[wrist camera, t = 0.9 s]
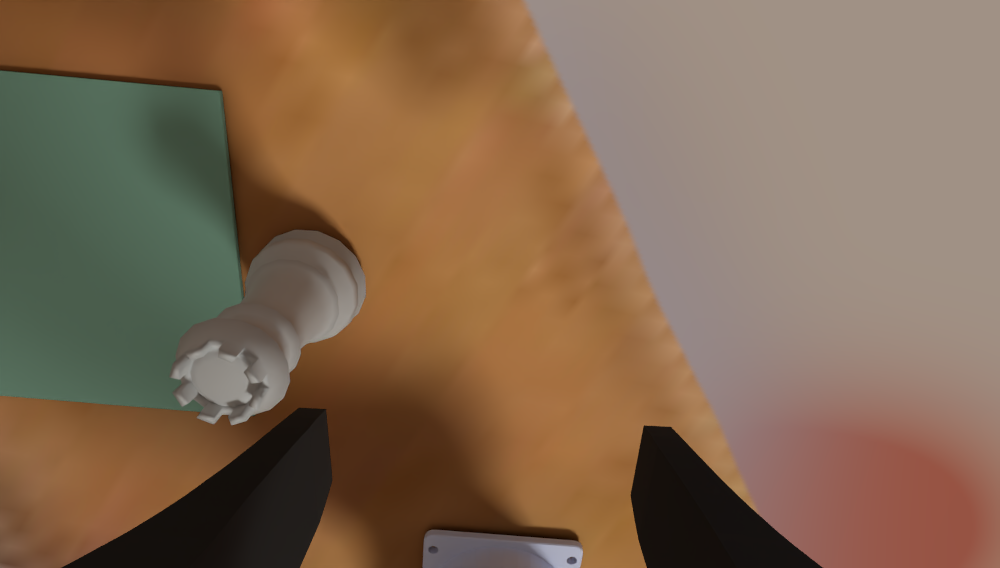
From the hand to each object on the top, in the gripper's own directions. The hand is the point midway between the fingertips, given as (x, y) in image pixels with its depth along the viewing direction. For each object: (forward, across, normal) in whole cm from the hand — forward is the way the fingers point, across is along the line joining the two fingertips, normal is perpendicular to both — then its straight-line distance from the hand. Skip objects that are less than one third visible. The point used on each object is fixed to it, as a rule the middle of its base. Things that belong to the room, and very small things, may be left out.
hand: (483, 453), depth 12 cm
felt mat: (+10, +16, 0) cm, 19 cm away
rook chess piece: (+11, +7, 0) cm, 13 cm away
